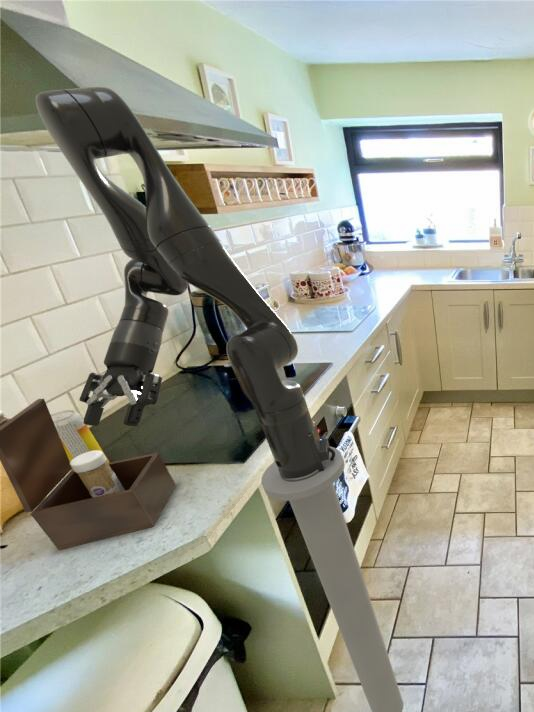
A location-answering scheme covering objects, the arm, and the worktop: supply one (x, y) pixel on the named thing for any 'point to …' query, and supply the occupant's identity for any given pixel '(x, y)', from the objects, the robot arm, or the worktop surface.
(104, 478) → the sprinkles bottle
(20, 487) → the chest lid
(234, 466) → the worktop surface
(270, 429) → the robot arm
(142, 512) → the chest
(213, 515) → the worktop surface
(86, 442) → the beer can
